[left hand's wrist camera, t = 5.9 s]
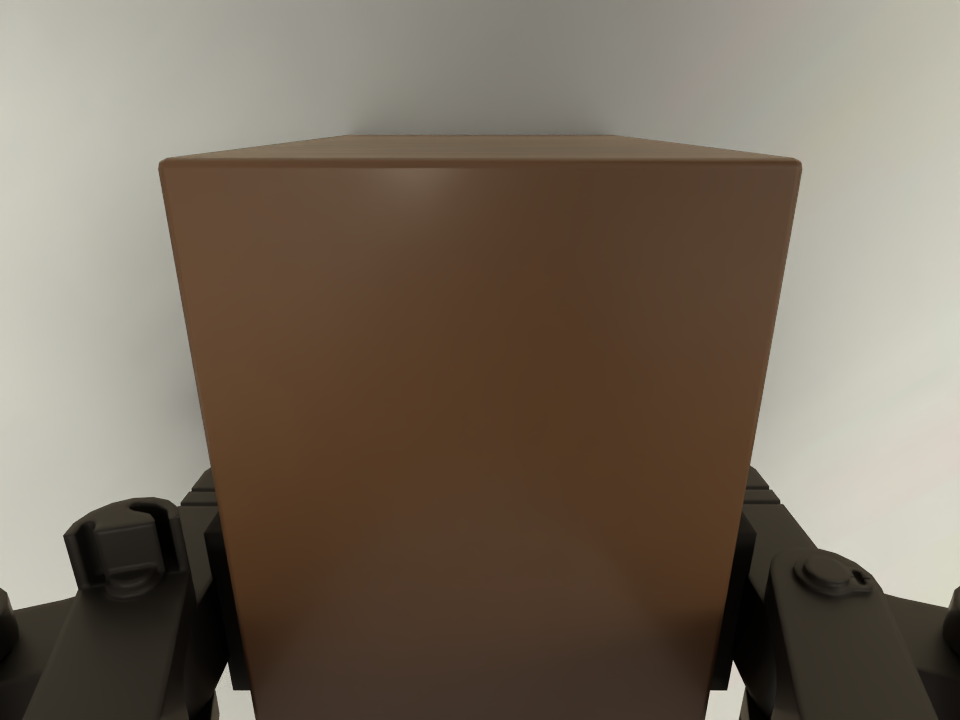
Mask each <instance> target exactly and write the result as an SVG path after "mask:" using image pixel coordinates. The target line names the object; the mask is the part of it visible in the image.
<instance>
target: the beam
mask: <svg viewBox="0 0 960 720" xmlns="http://www.w3.org/2000/svg"><path fill="white" fill-rule="evenodd" d="M158 170H159V176H160V182H161V187H162V193H163V199H164V204H165V210H166V215H167V221H168V227H169V232H170V238H171V244H172V249H173V255H174V261H175V266H176V272H177V278H178V283H179V289H180V295H181V300H182V306H183V312H184V317H185V323H186V329H187V334H188V340H189V346H190V351H191V357H192V363H193V368H194V374H195V380H196V385H197V391H198V396H199V402H200V408H201V413H202V419H203V425H204V430H205V436H206V442H207V447H208V453H209V459H210V464H211V470H212V476H213V481H214V487H215V493H216V498H217V504H218V510H219V515H220V521H221V527H222V532H223V538H224V544H225V549H226V555H227V561H228V566H229V572H230V577H231V583H232V589H233V594H234V600H235V606H236V611H237V617H238V623H239V628H240V634H241V640H242V645H243V651H244V657H245V662H246V668H247V674H248V679H249V685H250V691H251V696H252V702H253V708H254V713H255V719H256V720H705V716H706V710H707V704H708V699H709V693H710V687H711V682H712V676H713V670H714V665H715V659H716V654H717V648H718V642H719V637H720V631H721V625H722V620H723V614H724V608H725V603H726V597H727V591H728V586H729V580H730V574H731V569H732V563H733V558H734V552H735V546H736V541H737V535H738V529H739V524H740V518H741V512H742V507H743V501H744V495H745V490H746V484H747V478H748V473H749V467H750V461H751V456H752V450H753V445H754V439H755V433H756V428H757V422H758V416H759V411H760V405H761V399H762V394H763V388H764V382H765V377H766V371H767V365H768V360H769V354H770V348H771V343H772V337H773V332H774V326H775V320H776V315H777V309H778V303H779V298H780V292H781V286H782V281H783V275H784V269H785V264H786V258H787V252H788V247H789V241H790V235H791V230H792V224H793V219H794V213H795V207H796V202H797V196H798V190H799V185H800V179H801V173H802V164H801V162H800V161H799V160H797V159H795V158H790V157H782V156H774V155H766V154H758V153H750V152H742V151H734V150H726V149H719V148H711V147H703V146H695V145H687V144H679V143H671V142H663V141H655V140H647V139H640V138H632V137H624V136H616V135H345V136H337V137H329V138H321V139H313V140H305V141H297V142H289V143H282V144H274V145H266V146H258V147H250V148H242V149H234V150H226V151H218V152H211V153H203V154H195V155H187V156H179V157H171V158H166V159H164V160H162V161H160V163H159V168H158Z"/></svg>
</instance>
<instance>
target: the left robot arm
mask: <svg viewBox="0 0 960 720" xmlns="http://www.w3.org/2000/svg"><path fill="white" fill-rule="evenodd" d="M63 537H64V541H65V544H66V548H67V551H68V555H69V558H70V562H71V565H72V569H73V572H74V576H75V579H76V582H77V586H78V592H77V594H76V596H75V597H72V598H68V599H65V600H61V601H56V602H51V603H47V604H42V605H37V606H32V607H28V608H23V609H18V610H14V611H13V609H12V606H11V603H10V601H9V598H8V595H7V592H5V591H4V590H3V589H1V588H0V720H219V708H218V701H217V696H216V691H215V688H216V686H217V684H218V682H219V679H220V677H221V675H222V673H223V671H224V669H225V667H226V664H227V662H228V665H229V670H230V676H231V681H232V686H233V690H250V685H249V679H248V674H247V668H246V662H245V657H244V651H243V645H242V640H241V634H240V628H239V623H238V617H237V611H236V606H235V600H234V594H233V589H232V583H231V577H230V572H229V566H228V561H227V555H226V549H225V544H224V538H223V532H222V527H221V521H220V515H219V510H218V504H217V498H216V493H215V487H214V481H213V476H212V470H211V468H209V469H208V470H206V471H205V472H204V473H203V475H202V476H201V477H200V479H199V480H198V481H197V482H196V484H195V485H194V486H193V488H192V492H189V493H188V494H187V495H186V497H185V498H184V499H183V500H182V502H181V506H178V507H177V506H175V505H174V504H173V503H172V502H170V501H169V500H165V499H160V498H155V497H146V498H132V499H128V500H123V501H119V502H115V503H111V504H109V505H106V506H104V507H101V508H99V509H97V510H94V511H92V512H90V513H88V514H87V515H85V516H84V517H82V518H81V519H79V520H78V521H76V522H75V523H73V525H72V526H71V527H70V528H69V529H68V530H67V532H66V533H65V534H64V535H63ZM733 660H734V663H735V665H736V667H737V669H738V671H739V673H740V675H741V678H742V680H743V682H744V684H745V686H746V687H745V691H744V696H743V701H742V706H741V711H740V716H739V720H960V586H959V587H958V588H957V589H955V590H954V593H953V596H952V599H951V602H950V605H949V608H945V607H941V606H936V605H931V604H927V603H922V602H917V601H912V600H908V599H903V598H898V597H895V596H891V595H887V594H884V593H883V590H882V588H881V587H880V586H879V584H878V583H877V581H876V580H875V579H874V577H873V576H872V575H871V574H870V573H869V572H867V571H866V570H865V569H863V568H862V567H861V566H859V565H858V564H857V563H855V562H853V561H851V560H849V559H847V558H845V557H843V556H840V555H838V554H836V553H833V552H829V551H825V550H822V549H818V548H817V547H816V546H815V544H814V543H813V542H812V540H811V539H810V538H809V537H808V535H807V534H806V533H805V532H804V530H803V529H802V528H801V526H800V525H799V524H798V523H797V521H796V520H795V519H794V518H793V516H792V515H791V514H790V512H789V511H788V510H787V509H786V507H785V506H784V505H783V504H780V500H779V498H778V497H777V496H776V495H775V493H774V492H773V491H772V490H769V486H768V484H767V483H766V482H765V481H764V479H763V478H762V477H761V475H760V474H759V473H758V472H757V470H756V469H754V468H753V467H751V466H750V467H749V473H748V478H747V484H746V490H745V495H744V501H743V507H742V512H741V518H740V524H739V529H738V535H737V541H736V546H735V552H734V558H733V563H732V569H731V574H730V580H729V586H728V591H727V597H726V603H725V608H724V614H723V620H722V625H721V631H720V637H719V642H718V648H717V654H716V659H715V665H714V670H713V676H712V682H711V687H710V690H727V688H728V683H729V678H730V673H731V667H732V662H733Z"/></svg>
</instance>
